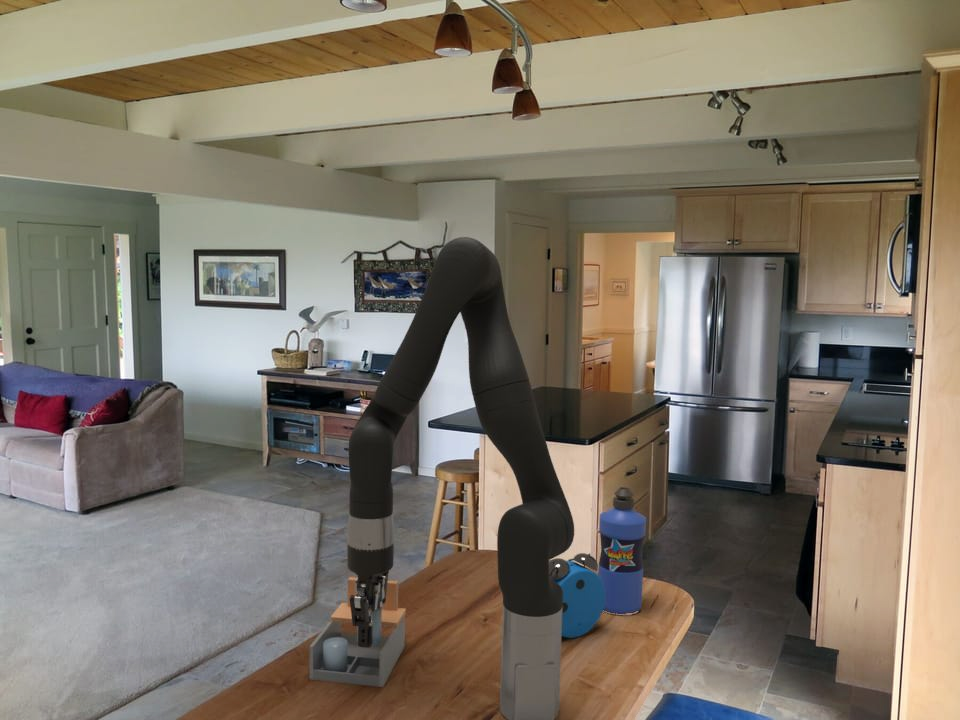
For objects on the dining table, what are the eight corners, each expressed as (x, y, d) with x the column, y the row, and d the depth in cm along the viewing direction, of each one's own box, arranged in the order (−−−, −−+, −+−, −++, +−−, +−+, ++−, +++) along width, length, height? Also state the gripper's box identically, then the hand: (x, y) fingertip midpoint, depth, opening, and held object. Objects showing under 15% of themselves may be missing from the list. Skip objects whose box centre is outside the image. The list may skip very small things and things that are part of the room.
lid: (397, 627, 136) (397, 595, 135) (330, 621, 138) (330, 589, 137) (405, 612, 142) (406, 581, 141) (341, 607, 144) (341, 576, 143)
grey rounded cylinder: (346, 677, 130) (346, 648, 129) (322, 677, 129) (322, 648, 129) (348, 665, 134) (348, 636, 133) (324, 665, 133) (324, 637, 133)
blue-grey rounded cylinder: (380, 646, 129) (381, 617, 128) (356, 647, 128) (356, 617, 128) (381, 635, 133) (382, 606, 132) (357, 635, 132) (357, 607, 132)
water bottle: (599, 594, 168) (603, 480, 165) (643, 600, 166) (649, 484, 163) (593, 612, 159) (598, 492, 156) (640, 619, 157) (646, 496, 154)
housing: (382, 692, 127) (383, 653, 126) (309, 684, 129) (309, 646, 128) (404, 651, 141) (404, 616, 140) (337, 645, 143) (338, 610, 142)
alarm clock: (585, 619, 156) (588, 545, 154) (605, 631, 151) (608, 555, 149) (531, 633, 149) (533, 557, 148) (550, 647, 144) (553, 568, 142)
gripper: (380, 557, 121) (378, 663, 123) (404, 527, 135) (402, 623, 137) (333, 553, 122) (332, 658, 124) (362, 524, 136) (361, 618, 138)
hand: (369, 639), depth 131 cm, fingers closed on blue-grey rounded cylinder, 4 cm apart
